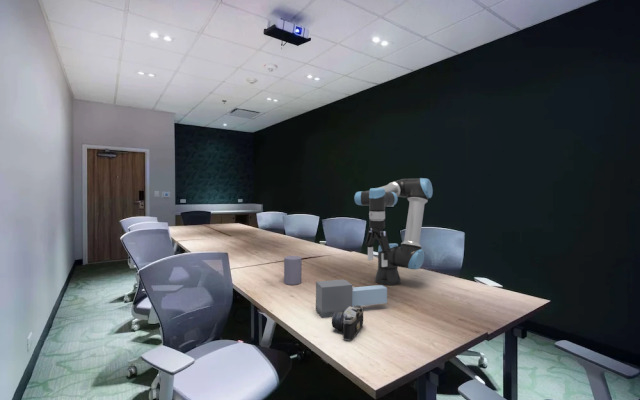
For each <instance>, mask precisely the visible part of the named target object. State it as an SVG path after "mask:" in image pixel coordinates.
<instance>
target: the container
mask: <svg viewBox="0 0 640 400" xmlns="http://www.w3.org/2000/svg"><path fill="white" fill-rule="evenodd" d="M283 259H284V260H283V263H284V264H283V266H284V267H283V268H284V269H283V284H285V285H288V286H296V285H300V284H302V271H303V270H302V268H303V265H302V264H303V263H302V259H303V257H302V256H300V255H299V256H298V255H287V256H284V258H283Z"/></svg>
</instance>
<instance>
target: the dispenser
mask: <svg viewBox="0 0 640 400" xmlns="http://www.w3.org/2000/svg"><path fill="white" fill-rule="evenodd" d="M353 287H354V286H353V284H352V283H351V282H349V281H348V280H346V279H331V280H320V281H315V311H316V313H317V314H318V316H320V318H321V319H326V318H332V317H333V314H334V312H336V311H340V312H345V310H346V309H347V308H348V307H349V306H350V307H352V291H353Z"/></svg>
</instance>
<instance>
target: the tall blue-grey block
mask: <svg viewBox="0 0 640 400" xmlns="http://www.w3.org/2000/svg"><path fill="white" fill-rule="evenodd" d="M387 303H388V288H387V287H386V285H383V284H378V285H366V286H356V287H355V286H353V291H352V307H354V306H357V305H359V306H361V307H362V306H363V307H364V306H371V305H381V304H387Z"/></svg>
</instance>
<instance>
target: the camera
mask: <svg viewBox="0 0 640 400" xmlns="http://www.w3.org/2000/svg"><path fill="white" fill-rule="evenodd" d="M363 325H364V308H363V307H362V306H359V305H357V306H354V307H350V306H349V307H348V308H347V309H346V310H345V312H340V311H336V312H334V314H333V317H331V326H332V328H334V329H336V330H339V331H341V332H343V333H342V334H343V335H342V339H343V340H344V341H349V342H350V341H352V340H353V339H354V338H355V336H356V335H357V334H358V333H359V332H360V330H361V329H362V328H363V327H364V326H363Z"/></svg>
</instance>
